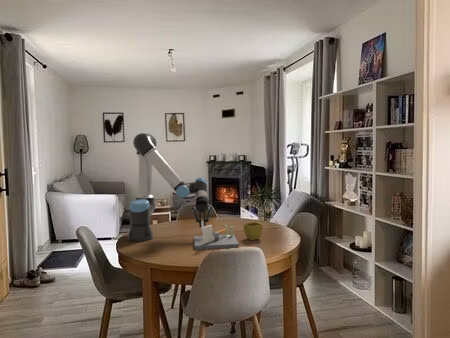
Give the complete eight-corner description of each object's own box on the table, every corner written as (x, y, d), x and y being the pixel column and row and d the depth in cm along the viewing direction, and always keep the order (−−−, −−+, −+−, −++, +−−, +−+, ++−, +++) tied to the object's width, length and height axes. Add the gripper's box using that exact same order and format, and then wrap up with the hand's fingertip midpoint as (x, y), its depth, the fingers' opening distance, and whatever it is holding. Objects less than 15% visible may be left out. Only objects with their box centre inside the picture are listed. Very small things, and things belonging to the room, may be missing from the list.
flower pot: (250, 241, 209) (250, 226, 208) (243, 238, 217) (242, 223, 216) (263, 239, 213) (263, 224, 212) (255, 236, 221) (255, 222, 220)
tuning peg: (206, 244, 195) (206, 227, 195) (201, 243, 198) (200, 226, 197) (228, 235, 214) (228, 220, 213) (223, 234, 216) (223, 220, 215)
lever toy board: (194, 249, 194) (194, 234, 194) (194, 239, 216) (194, 226, 216) (238, 247, 196) (238, 233, 196) (233, 237, 218) (233, 224, 218)
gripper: (211, 202, 229) (213, 234, 213) (191, 203, 228) (191, 235, 212) (212, 195, 223) (214, 227, 208) (191, 195, 222) (191, 228, 206)
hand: (202, 231), depth 210 cm, fingers closed
